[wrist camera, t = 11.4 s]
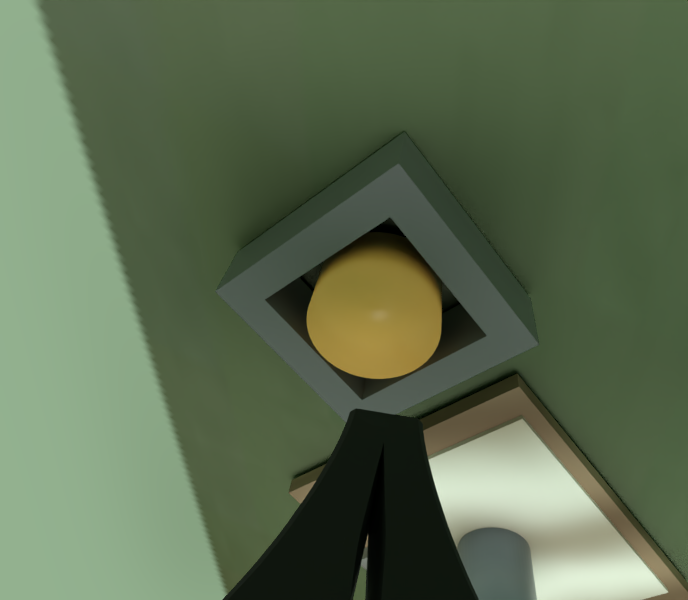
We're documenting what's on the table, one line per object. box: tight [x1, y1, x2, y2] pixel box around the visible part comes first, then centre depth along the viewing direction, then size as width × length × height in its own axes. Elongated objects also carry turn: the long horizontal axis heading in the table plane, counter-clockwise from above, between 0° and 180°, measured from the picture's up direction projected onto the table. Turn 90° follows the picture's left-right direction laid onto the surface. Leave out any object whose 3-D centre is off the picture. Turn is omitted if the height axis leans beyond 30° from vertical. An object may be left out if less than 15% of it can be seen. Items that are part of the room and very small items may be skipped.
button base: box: [215, 131, 539, 422], centre depth 20 cm, size 7×7×2 cm
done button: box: [307, 232, 442, 379], centre depth 20 cm, size 4×4×2 cm
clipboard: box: [289, 374, 688, 600], centre depth 27 cm, size 14×11×1 cm
